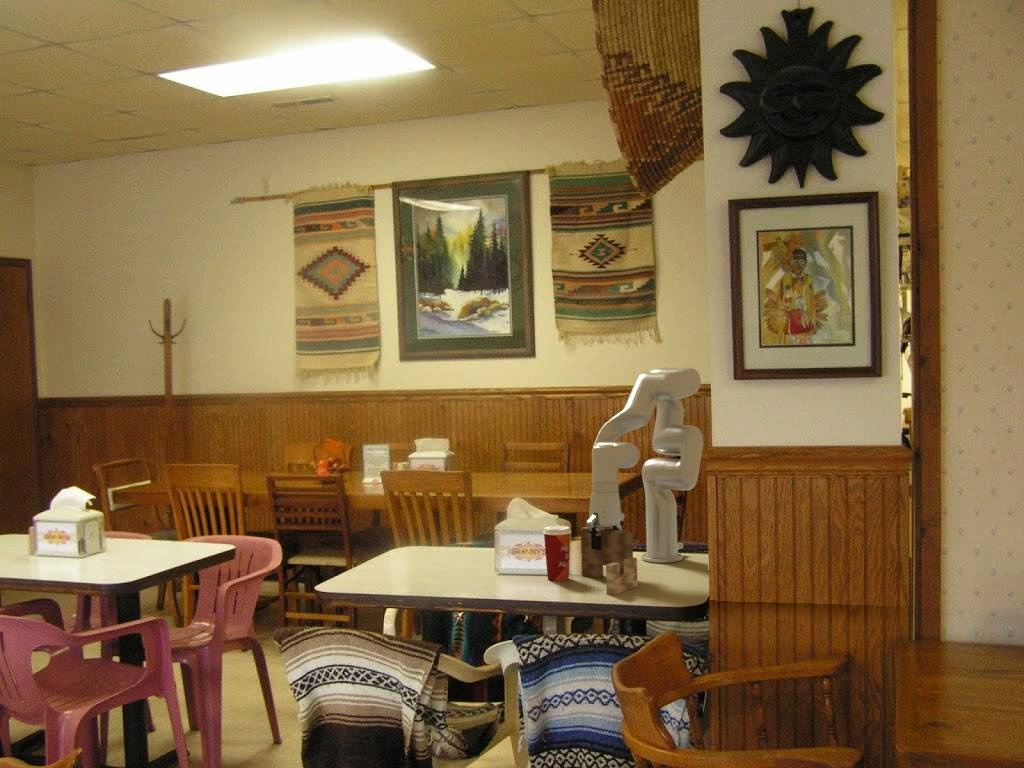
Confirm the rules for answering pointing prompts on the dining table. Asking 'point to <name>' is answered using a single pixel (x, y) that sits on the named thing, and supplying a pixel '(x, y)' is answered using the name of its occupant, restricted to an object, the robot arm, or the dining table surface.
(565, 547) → the coffee cup
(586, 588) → the dining table surface
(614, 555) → the walnut block
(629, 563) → the brown u-shaped block
